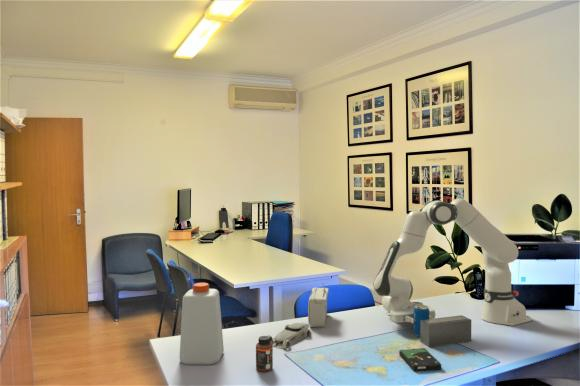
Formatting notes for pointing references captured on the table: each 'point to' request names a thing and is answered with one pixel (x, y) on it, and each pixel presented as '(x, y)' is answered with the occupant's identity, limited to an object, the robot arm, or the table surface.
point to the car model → (290, 335)
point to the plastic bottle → (201, 326)
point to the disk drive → (420, 360)
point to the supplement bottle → (264, 354)
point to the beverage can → (419, 317)
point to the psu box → (445, 331)
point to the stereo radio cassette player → (317, 307)
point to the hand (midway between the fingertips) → (422, 320)
